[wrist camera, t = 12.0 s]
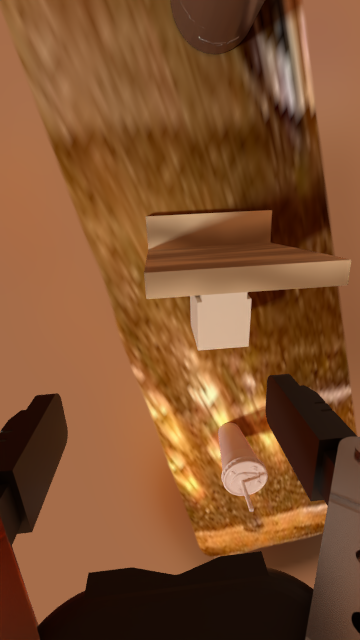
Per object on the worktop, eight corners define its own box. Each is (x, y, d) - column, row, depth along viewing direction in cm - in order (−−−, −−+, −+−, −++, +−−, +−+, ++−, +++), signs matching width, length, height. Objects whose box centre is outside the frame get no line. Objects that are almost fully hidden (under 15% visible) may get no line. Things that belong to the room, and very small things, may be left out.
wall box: (189, 268, 37) (197, 284, 31) (235, 265, 38) (252, 281, 31) (191, 329, 41) (198, 356, 35) (233, 326, 41) (248, 352, 35)
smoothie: (205, 423, 49) (224, 499, 35) (241, 410, 48) (274, 482, 35) (216, 451, 51) (238, 533, 38) (251, 439, 51) (285, 517, 37)
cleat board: (146, 216, 37) (138, 215, 20) (268, 210, 38) (359, 204, 21) (151, 282, 40) (149, 329, 23) (265, 274, 41) (343, 314, 24)
